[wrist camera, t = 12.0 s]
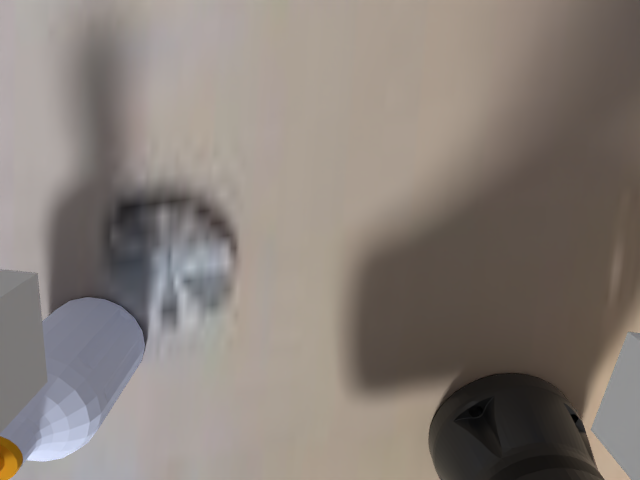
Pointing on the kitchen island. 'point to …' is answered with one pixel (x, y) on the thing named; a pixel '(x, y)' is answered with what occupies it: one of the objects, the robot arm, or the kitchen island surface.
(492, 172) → the kitchen island surface
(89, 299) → the soap bottle
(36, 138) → the kitchen island surface
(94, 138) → the kitchen island surface
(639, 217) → the kitchen island surface
